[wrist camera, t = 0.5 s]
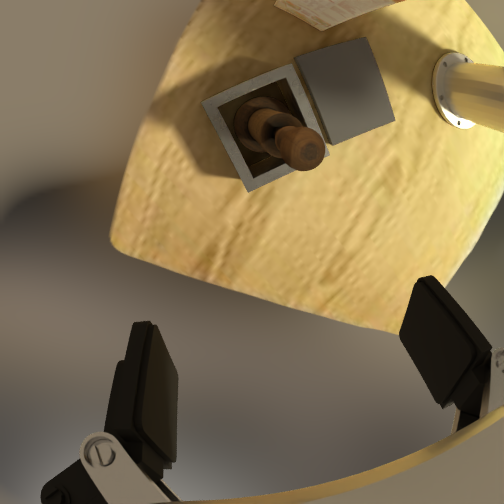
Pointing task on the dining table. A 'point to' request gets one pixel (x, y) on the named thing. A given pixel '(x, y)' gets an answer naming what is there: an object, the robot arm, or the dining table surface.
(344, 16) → the coffeecake box
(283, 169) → the open square box
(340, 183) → the dining table surface
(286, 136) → the wooden pepper mill
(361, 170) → the dining table surface
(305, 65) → the coaster
